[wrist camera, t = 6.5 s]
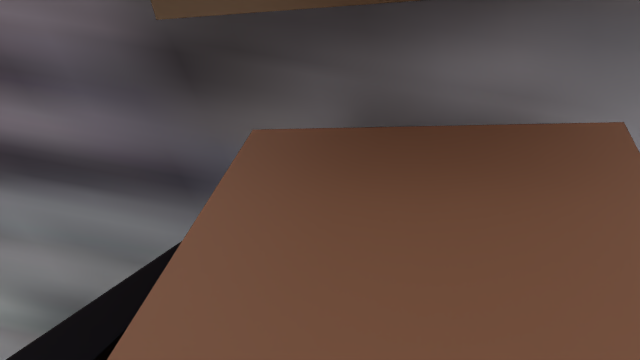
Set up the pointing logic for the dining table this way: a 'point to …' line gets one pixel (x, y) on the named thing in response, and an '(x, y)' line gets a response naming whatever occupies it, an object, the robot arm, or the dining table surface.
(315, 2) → the domino
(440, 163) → the domino
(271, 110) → the dining table surface
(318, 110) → the dining table surface
